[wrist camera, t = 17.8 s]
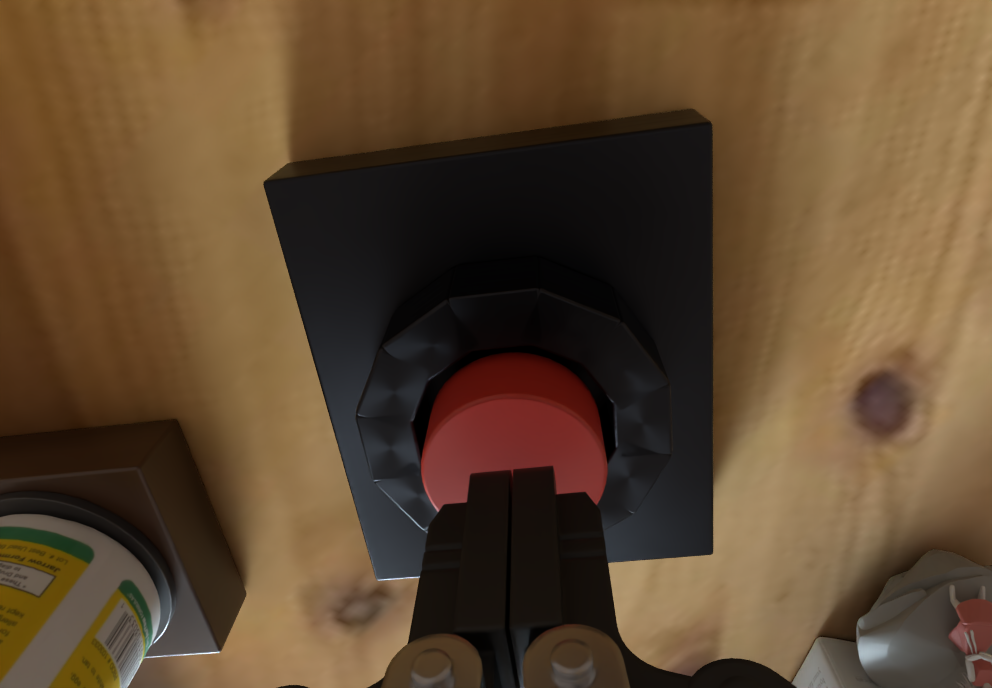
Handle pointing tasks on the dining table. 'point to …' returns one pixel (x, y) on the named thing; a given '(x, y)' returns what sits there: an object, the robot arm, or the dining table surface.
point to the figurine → (931, 626)
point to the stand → (136, 517)
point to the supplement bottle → (71, 606)
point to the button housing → (516, 308)
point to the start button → (513, 427)
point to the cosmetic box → (833, 666)
